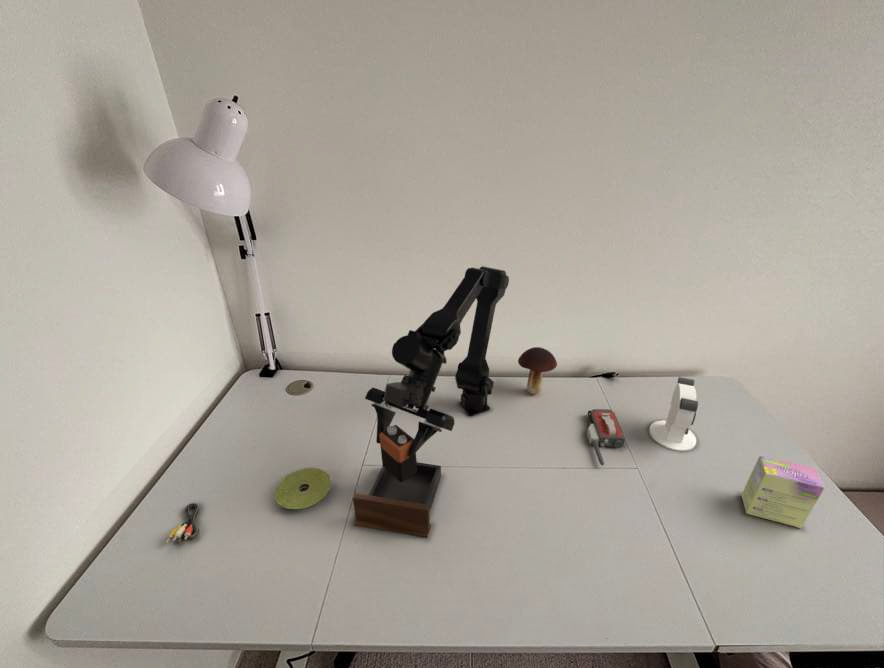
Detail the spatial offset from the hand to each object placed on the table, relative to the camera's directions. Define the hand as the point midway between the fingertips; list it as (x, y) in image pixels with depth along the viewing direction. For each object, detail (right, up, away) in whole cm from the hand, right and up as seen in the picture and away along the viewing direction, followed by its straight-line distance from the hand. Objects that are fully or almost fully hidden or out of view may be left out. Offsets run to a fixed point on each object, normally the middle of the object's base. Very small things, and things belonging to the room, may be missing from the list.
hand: (393, 449), depth 87 cm
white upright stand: (+67, -3, +26) cm, 73 cm away
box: (+79, -15, +6) cm, 81 cm away
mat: (-20, -11, +6) cm, 24 cm away
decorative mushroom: (+34, +6, +41) cm, 54 cm away
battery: (0, -5, +4) cm, 7 cm away
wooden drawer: (+1, -12, +6) cm, 13 cm away
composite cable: (-39, -15, -1) cm, 42 cm away
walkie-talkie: (+49, -4, +24) cm, 55 cm away
